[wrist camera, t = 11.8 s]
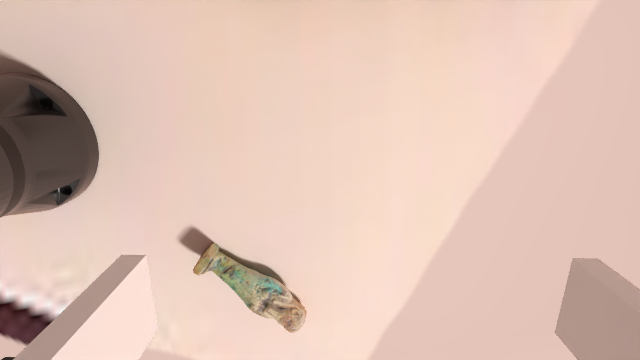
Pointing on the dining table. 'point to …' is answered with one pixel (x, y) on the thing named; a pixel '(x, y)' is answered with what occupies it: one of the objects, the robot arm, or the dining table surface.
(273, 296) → the figurine
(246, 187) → the dining table surface
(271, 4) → the dining table surface
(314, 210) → the dining table surface
